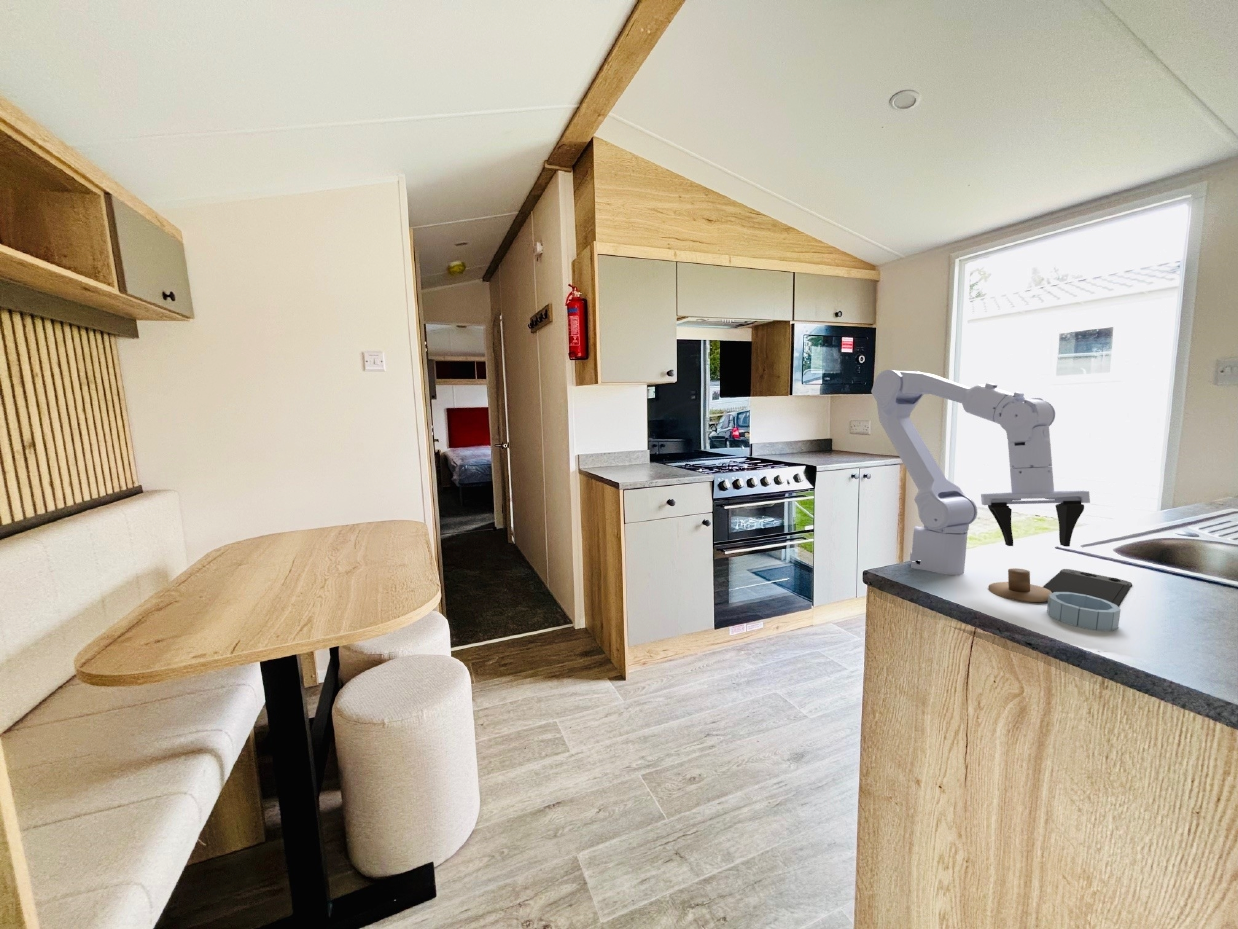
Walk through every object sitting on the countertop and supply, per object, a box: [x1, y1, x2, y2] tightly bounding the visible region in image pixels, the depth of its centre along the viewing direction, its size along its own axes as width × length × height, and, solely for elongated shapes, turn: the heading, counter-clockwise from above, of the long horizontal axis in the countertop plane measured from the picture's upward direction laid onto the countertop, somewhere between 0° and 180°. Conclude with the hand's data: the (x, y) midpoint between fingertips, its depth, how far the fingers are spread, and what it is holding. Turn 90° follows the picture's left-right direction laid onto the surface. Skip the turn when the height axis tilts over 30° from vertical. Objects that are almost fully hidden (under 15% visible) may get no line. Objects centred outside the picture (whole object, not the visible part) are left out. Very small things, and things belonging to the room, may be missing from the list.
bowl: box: [1046, 592, 1121, 632], centre depth 78 cm, size 8×8×4 cm
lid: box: [988, 567, 1052, 603], centre depth 88 cm, size 9×9×4 cm
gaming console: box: [1042, 568, 1133, 608], centre depth 90 cm, size 24×1×10 cm
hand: (1036, 545), depth 87 cm, fingers open, 7 cm apart
